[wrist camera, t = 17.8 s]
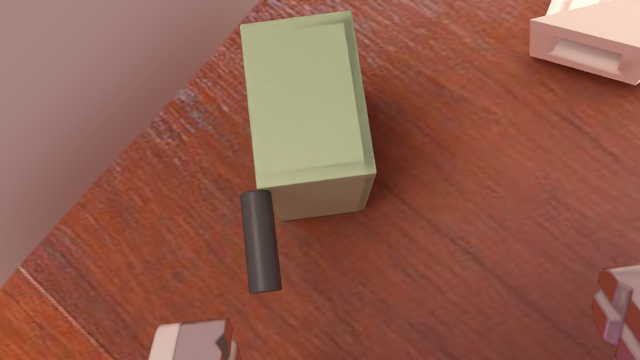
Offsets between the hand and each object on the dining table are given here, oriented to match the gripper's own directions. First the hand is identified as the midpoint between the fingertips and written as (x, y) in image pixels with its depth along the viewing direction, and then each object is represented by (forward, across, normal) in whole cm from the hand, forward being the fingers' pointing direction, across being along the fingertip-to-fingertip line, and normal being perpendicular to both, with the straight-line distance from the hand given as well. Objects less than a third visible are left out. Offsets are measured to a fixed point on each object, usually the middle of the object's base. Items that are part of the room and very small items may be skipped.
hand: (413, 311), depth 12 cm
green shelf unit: (+23, +3, +12) cm, 27 cm away
